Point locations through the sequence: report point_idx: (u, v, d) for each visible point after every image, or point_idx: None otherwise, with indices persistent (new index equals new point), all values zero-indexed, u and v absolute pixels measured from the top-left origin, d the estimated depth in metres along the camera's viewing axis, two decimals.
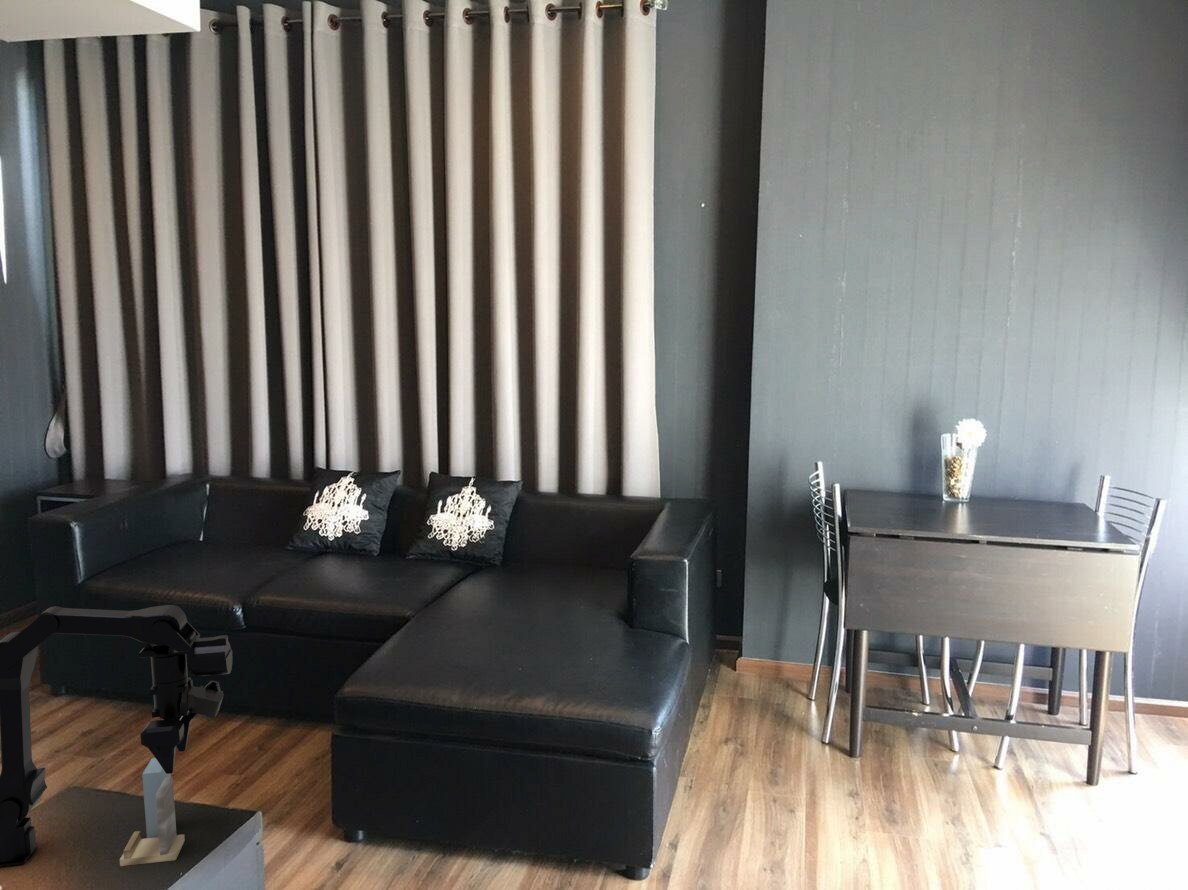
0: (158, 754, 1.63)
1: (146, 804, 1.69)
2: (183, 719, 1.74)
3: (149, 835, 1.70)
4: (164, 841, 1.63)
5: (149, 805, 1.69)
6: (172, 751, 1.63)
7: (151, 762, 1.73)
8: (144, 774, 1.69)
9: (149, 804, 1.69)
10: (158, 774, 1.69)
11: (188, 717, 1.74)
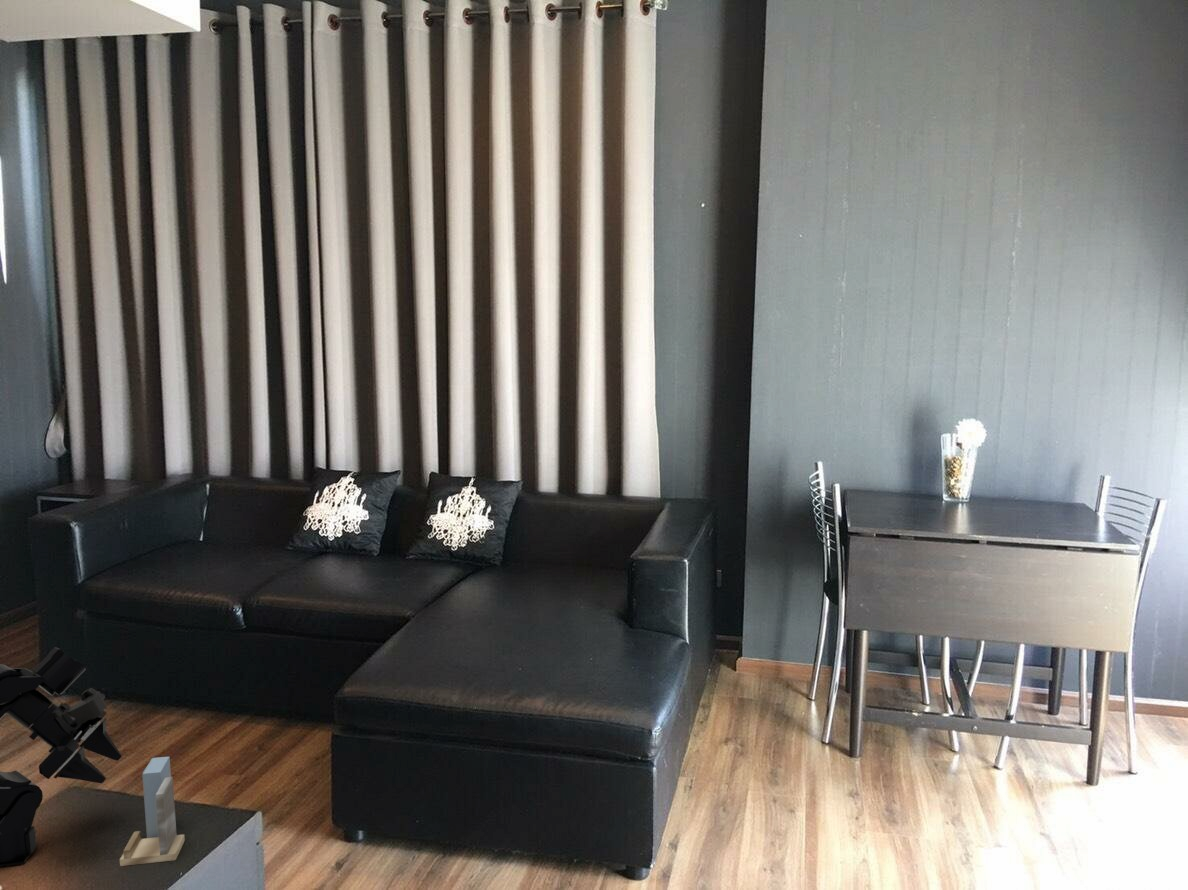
0: (77, 775, 1.64)
1: (146, 804, 1.69)
2: (97, 736, 1.74)
3: (149, 835, 1.70)
4: (164, 841, 1.63)
5: (149, 805, 1.69)
6: (84, 764, 1.64)
7: (151, 762, 1.73)
8: (144, 774, 1.69)
9: (149, 804, 1.69)
10: (158, 774, 1.69)
11: (99, 731, 1.74)
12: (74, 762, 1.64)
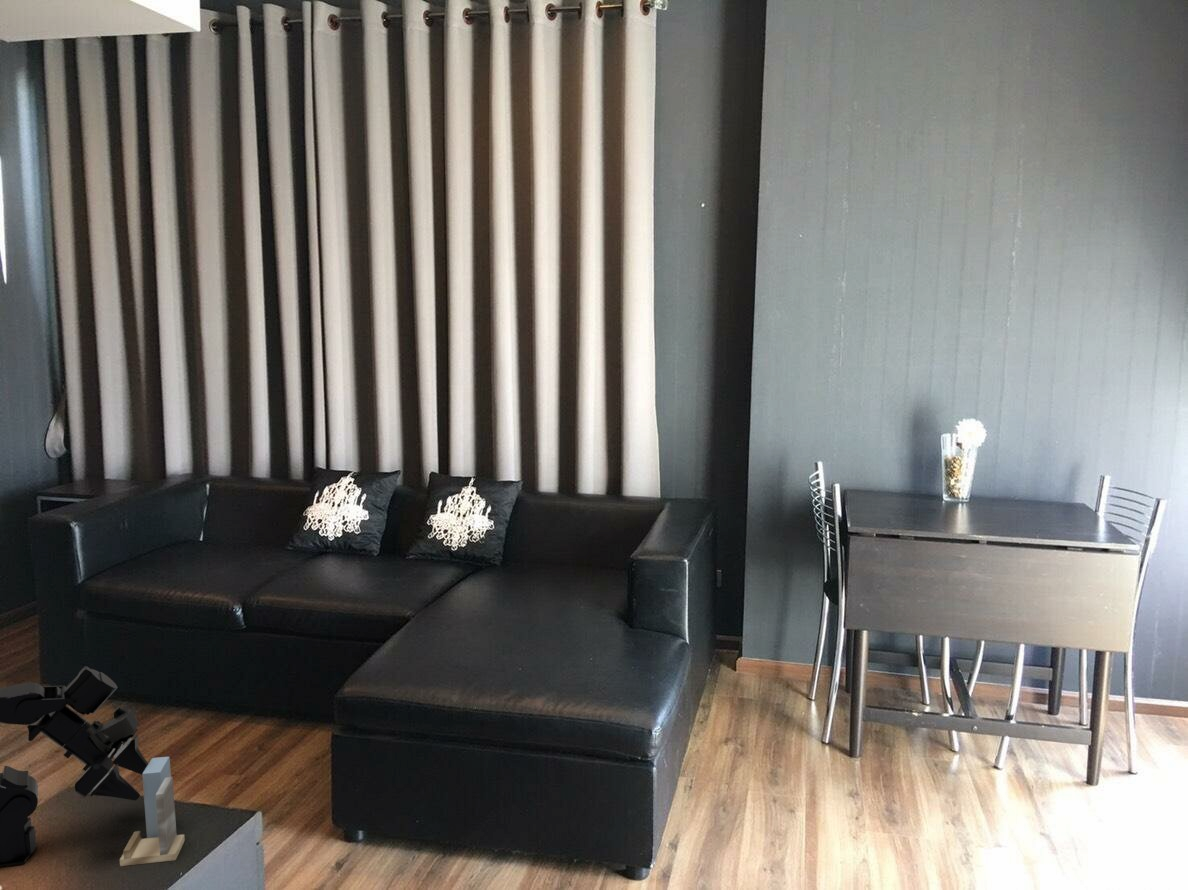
0: (111, 792, 1.65)
1: (146, 804, 1.69)
2: (129, 753, 1.76)
3: (149, 835, 1.70)
4: (164, 841, 1.63)
5: (149, 805, 1.69)
6: (119, 782, 1.65)
7: (151, 762, 1.73)
8: (144, 774, 1.69)
9: (149, 804, 1.69)
10: (158, 774, 1.69)
11: (131, 748, 1.76)
12: (109, 780, 1.65)
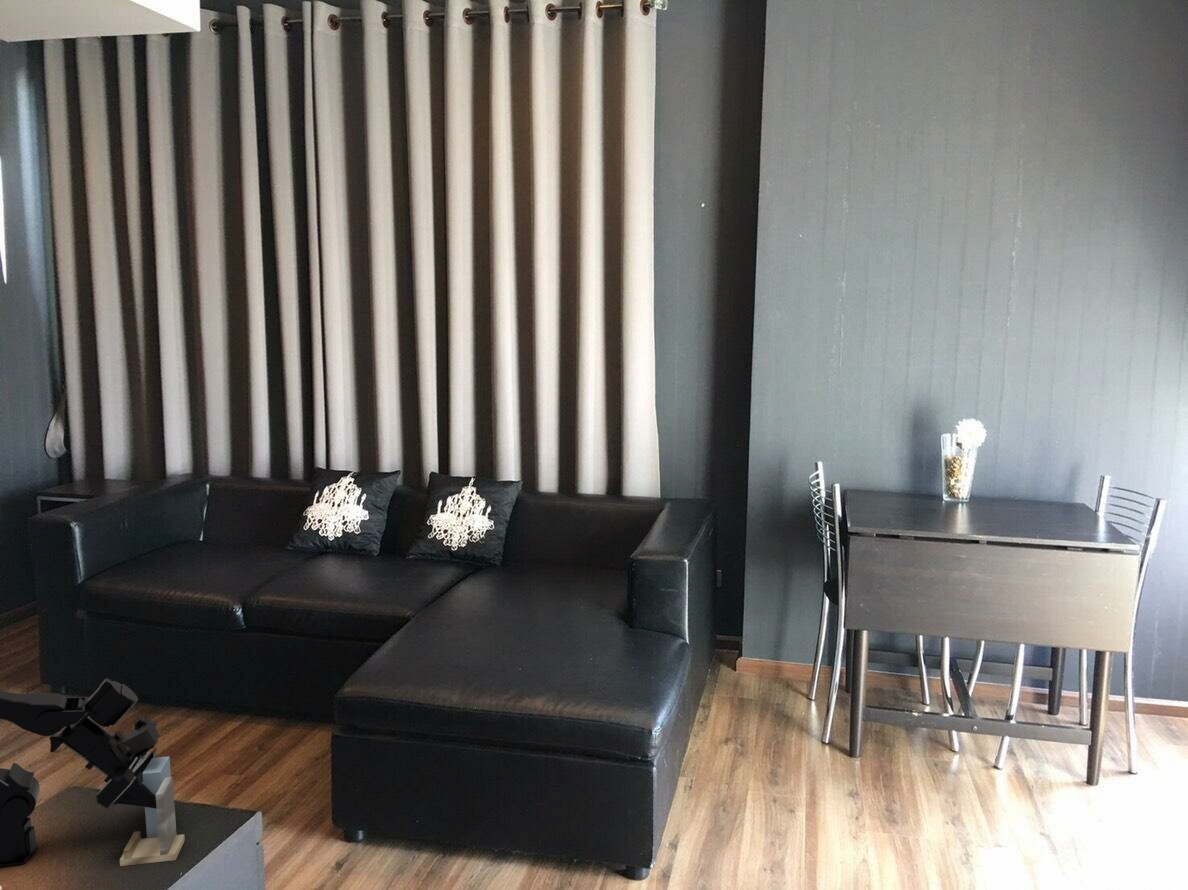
0: (134, 801, 1.67)
1: None
2: None
3: (150, 835, 1.70)
4: (164, 841, 1.63)
5: None
6: (142, 790, 1.67)
7: (151, 762, 1.73)
8: (144, 774, 1.69)
9: None
10: (158, 774, 1.69)
11: None
12: (132, 789, 1.67)
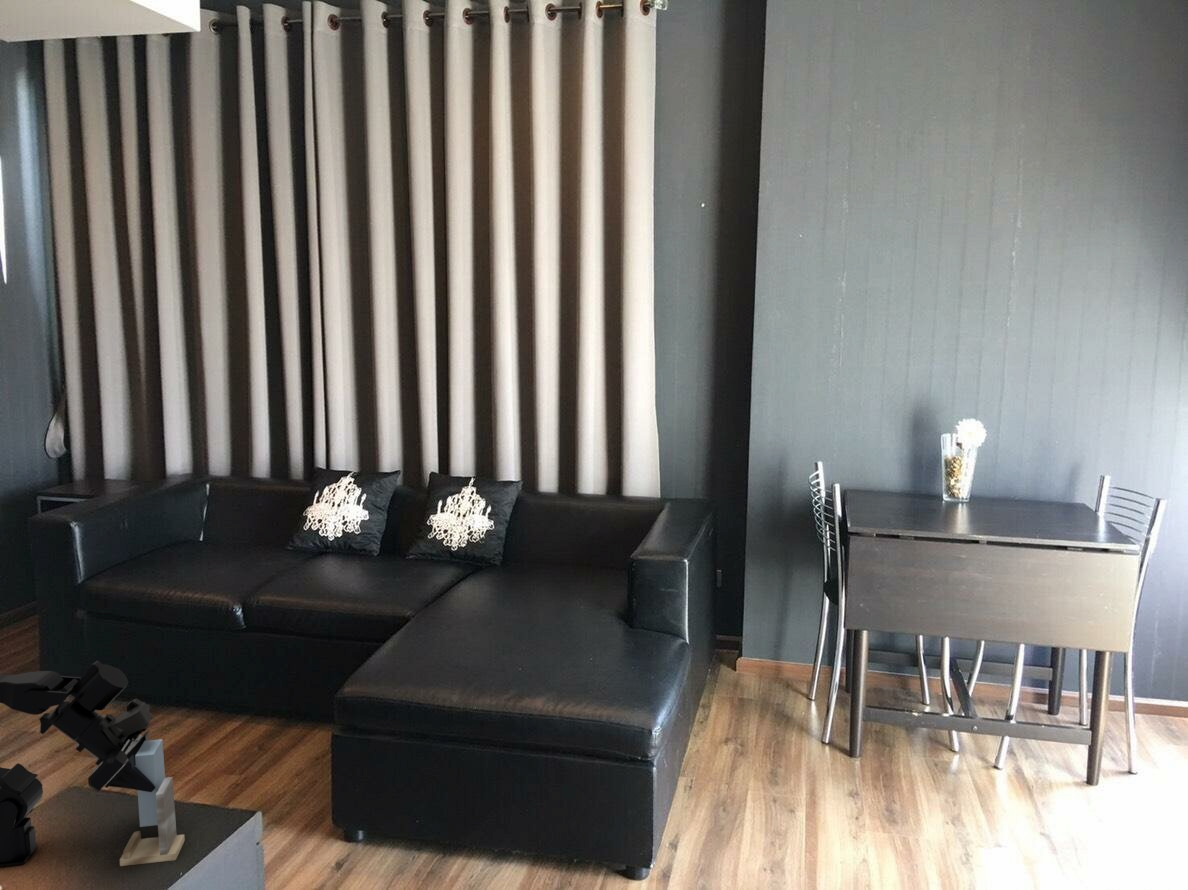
0: (127, 784, 1.63)
1: None
2: None
3: (142, 819, 1.66)
4: (164, 841, 1.63)
5: None
6: (134, 773, 1.63)
7: (144, 745, 1.69)
8: (137, 756, 1.65)
9: None
10: (152, 756, 1.65)
11: (141, 745, 1.71)
12: (125, 772, 1.63)
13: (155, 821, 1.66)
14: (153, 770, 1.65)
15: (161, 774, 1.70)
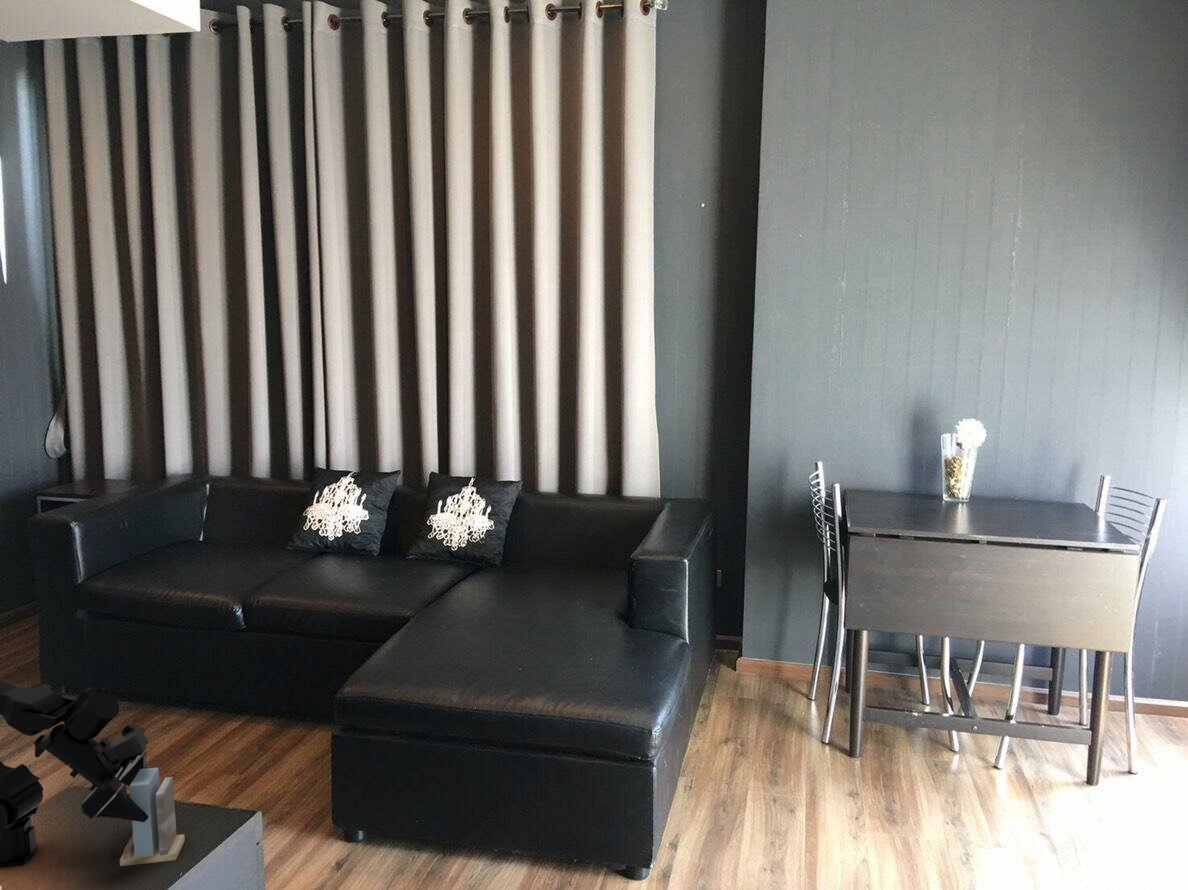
0: (119, 814, 1.59)
1: None
2: (137, 771, 1.69)
3: (137, 850, 1.63)
4: (164, 841, 1.63)
5: None
6: (126, 803, 1.59)
7: (139, 773, 1.66)
8: (131, 786, 1.61)
9: None
10: (146, 786, 1.62)
11: (139, 766, 1.69)
12: (117, 801, 1.59)
13: (150, 852, 1.63)
14: (148, 800, 1.62)
15: None
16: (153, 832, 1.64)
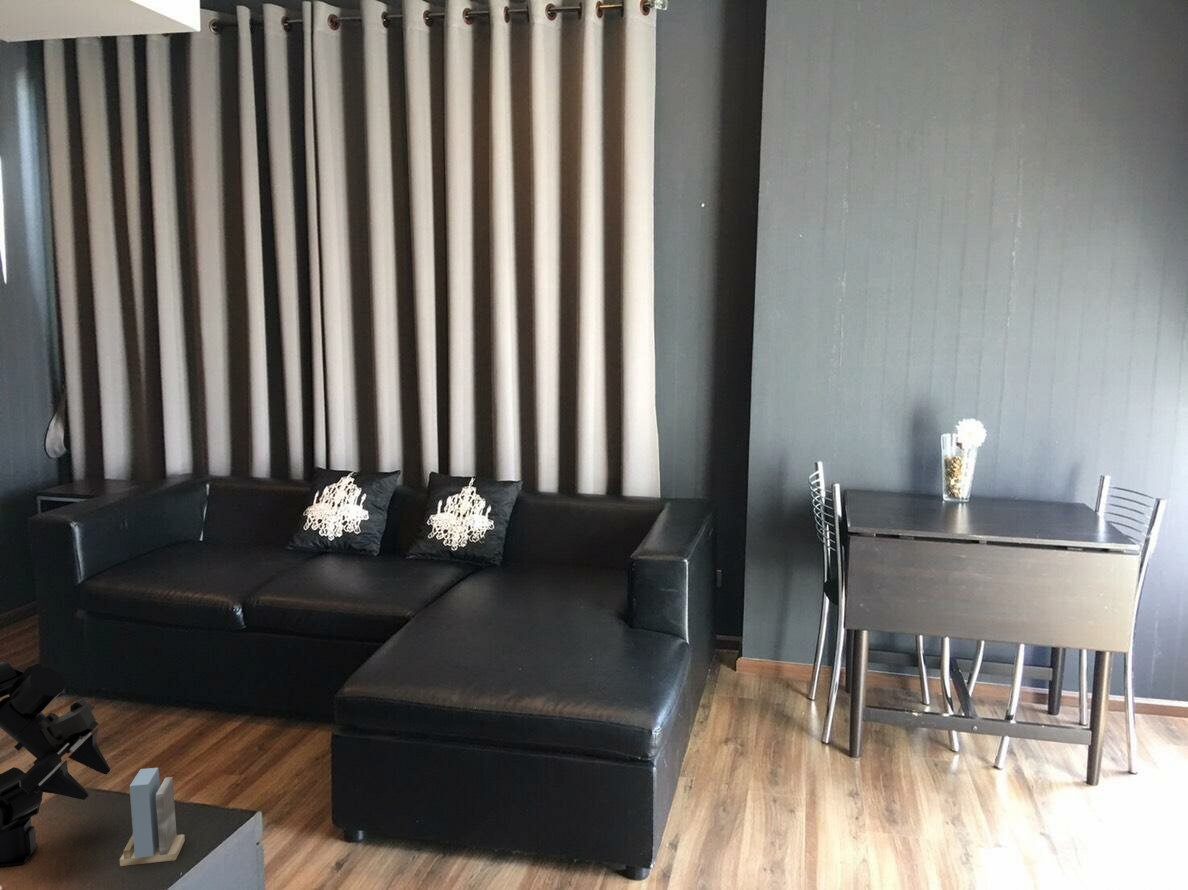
0: (59, 790, 1.58)
1: (133, 817, 1.62)
2: (86, 748, 1.69)
3: (137, 850, 1.63)
4: (164, 841, 1.63)
5: (136, 819, 1.62)
6: (66, 779, 1.58)
7: (139, 773, 1.66)
8: (131, 786, 1.61)
9: (137, 817, 1.62)
10: (146, 786, 1.62)
11: (88, 743, 1.69)
12: (57, 777, 1.58)
13: (150, 852, 1.63)
14: (148, 800, 1.62)
15: None
16: (153, 832, 1.64)
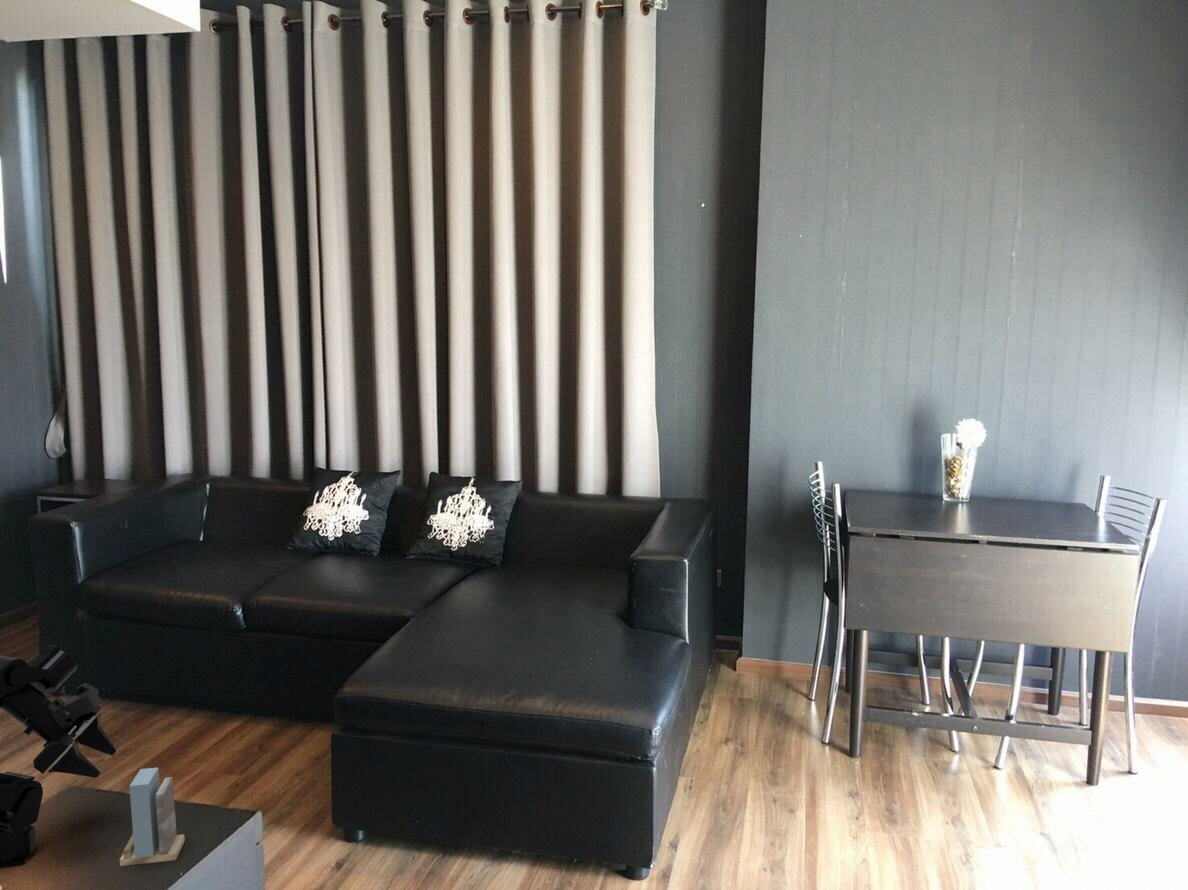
0: (71, 769, 1.64)
1: (133, 817, 1.62)
2: (91, 731, 1.75)
3: (137, 850, 1.63)
4: (164, 841, 1.63)
5: (136, 819, 1.62)
6: (78, 758, 1.64)
7: (139, 773, 1.66)
8: (131, 786, 1.61)
9: (137, 817, 1.62)
10: (146, 786, 1.62)
11: (93, 726, 1.75)
12: (69, 757, 1.64)
13: (150, 852, 1.63)
14: (148, 800, 1.62)
15: None
16: (153, 832, 1.64)
